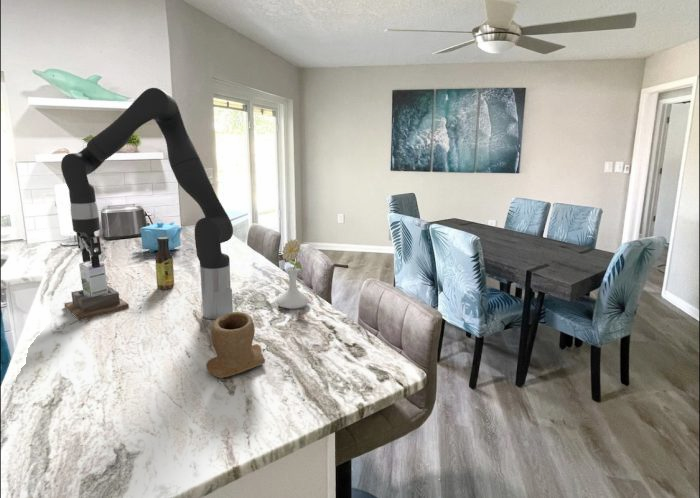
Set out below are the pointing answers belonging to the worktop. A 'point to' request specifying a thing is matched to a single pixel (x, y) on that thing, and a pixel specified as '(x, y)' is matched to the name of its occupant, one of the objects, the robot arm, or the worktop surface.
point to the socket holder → (95, 304)
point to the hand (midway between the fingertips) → (91, 264)
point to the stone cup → (233, 345)
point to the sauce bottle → (164, 265)
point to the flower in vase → (292, 279)
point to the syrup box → (93, 279)
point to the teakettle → (160, 235)
